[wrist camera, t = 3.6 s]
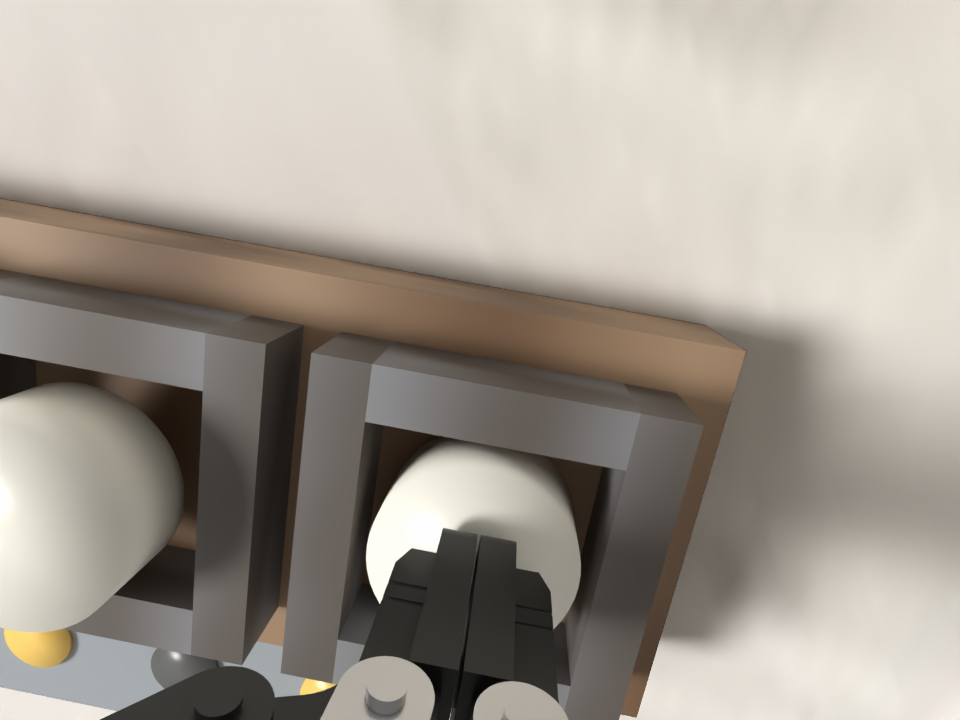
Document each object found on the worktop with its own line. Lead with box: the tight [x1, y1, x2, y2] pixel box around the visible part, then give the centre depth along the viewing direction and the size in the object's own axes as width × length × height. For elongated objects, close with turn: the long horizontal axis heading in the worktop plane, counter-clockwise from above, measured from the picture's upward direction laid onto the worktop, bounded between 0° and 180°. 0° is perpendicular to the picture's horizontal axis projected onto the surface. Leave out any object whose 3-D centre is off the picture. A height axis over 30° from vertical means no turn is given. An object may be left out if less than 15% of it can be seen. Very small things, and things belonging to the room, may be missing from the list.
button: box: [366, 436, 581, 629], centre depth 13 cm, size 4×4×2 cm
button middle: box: [0, 382, 185, 632], centre depth 11 cm, size 4×4×2 cm
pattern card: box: [0, 628, 336, 711], centre depth 19 cm, size 14×5×1 cm, turn 80°
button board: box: [0, 199, 746, 720], centre depth 15 cm, size 27×10×5 cm, turn 80°
